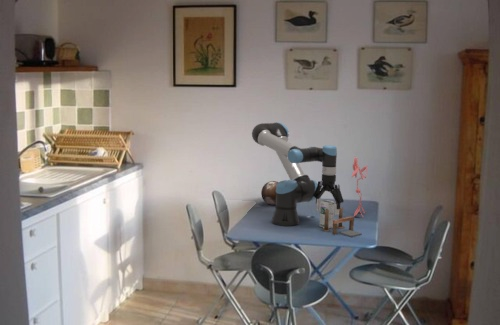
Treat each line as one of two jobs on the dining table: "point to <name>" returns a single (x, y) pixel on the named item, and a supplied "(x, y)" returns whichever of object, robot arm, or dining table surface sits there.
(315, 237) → the dining table surface
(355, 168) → the figurine
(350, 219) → the wooden frame
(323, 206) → the syrup box
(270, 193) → the wooden sphere
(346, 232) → the pad
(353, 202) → the dining table surface
